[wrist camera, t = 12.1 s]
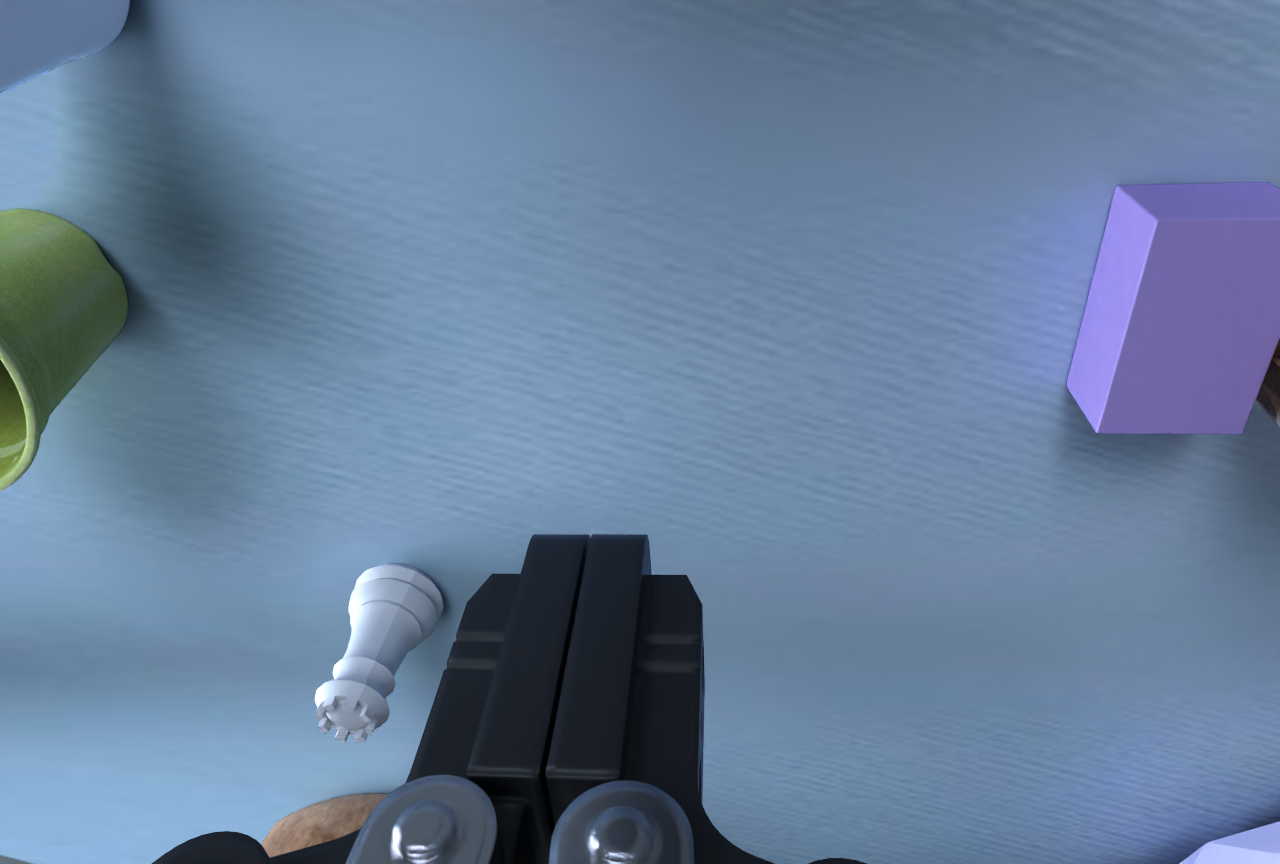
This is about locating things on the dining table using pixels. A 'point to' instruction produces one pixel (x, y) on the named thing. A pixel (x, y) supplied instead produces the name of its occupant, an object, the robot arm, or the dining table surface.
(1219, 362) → the lavender block
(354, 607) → the rook chess piece
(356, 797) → the bread
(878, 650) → the dining table surface
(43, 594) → the dining table surface
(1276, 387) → the food item
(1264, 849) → the fruit bowl
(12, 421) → the plant pot
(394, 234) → the dining table surface
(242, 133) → the dining table surface
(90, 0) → the drinking glass
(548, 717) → the robot arm
